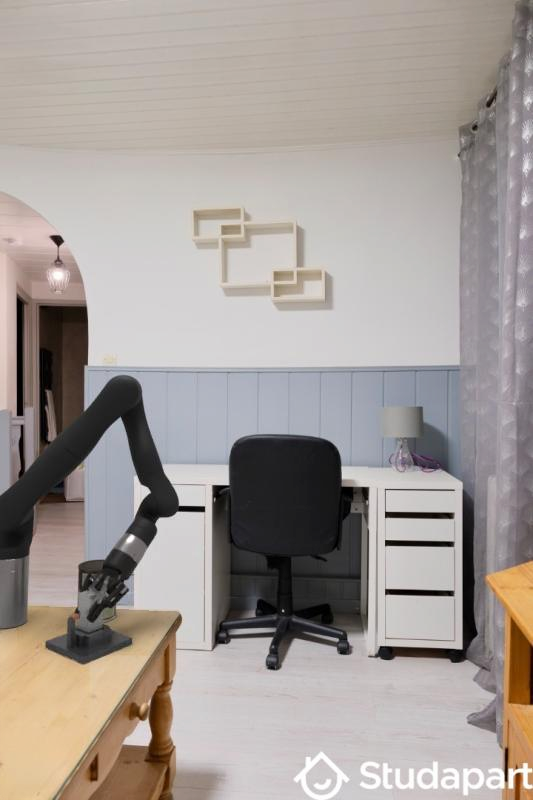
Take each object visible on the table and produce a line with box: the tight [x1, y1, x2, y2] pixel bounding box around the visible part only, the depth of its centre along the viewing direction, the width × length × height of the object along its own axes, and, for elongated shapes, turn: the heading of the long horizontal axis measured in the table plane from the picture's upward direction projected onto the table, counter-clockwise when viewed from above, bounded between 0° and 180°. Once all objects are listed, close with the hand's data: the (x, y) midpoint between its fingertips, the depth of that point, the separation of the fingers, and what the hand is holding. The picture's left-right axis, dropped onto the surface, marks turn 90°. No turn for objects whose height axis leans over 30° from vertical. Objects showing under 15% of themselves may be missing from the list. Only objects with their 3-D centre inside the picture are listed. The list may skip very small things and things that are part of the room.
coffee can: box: [76, 559, 117, 624], centre depth 154 cm, size 10×10×14 cm
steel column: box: [77, 590, 103, 634], centre depth 135 cm, size 4×4×11 cm
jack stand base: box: [44, 613, 133, 665], centre depth 135 cm, size 14×14×8 cm
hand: (83, 618), depth 134 cm, fingers closed on steel column, 4 cm apart
